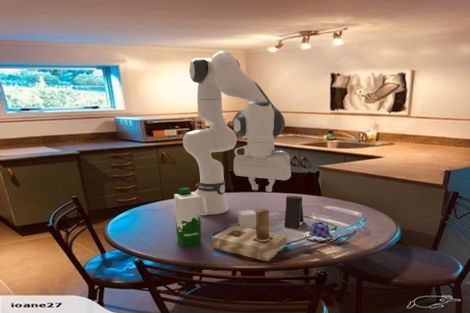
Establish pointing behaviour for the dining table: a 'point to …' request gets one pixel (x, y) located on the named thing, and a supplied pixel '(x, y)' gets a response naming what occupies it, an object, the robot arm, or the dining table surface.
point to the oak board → (248, 243)
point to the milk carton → (187, 217)
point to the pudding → (319, 230)
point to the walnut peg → (262, 225)
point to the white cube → (247, 218)
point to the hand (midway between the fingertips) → (261, 190)
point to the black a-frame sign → (293, 212)
